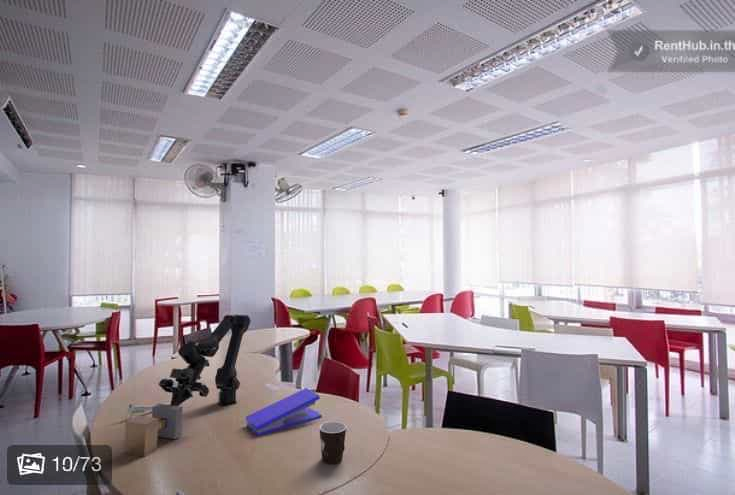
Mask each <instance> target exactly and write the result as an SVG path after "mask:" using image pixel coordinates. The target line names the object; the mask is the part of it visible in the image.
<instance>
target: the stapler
mask: <svg viewBox="0 0 735 495" xmlns="http://www.w3.org/2000/svg"><path fill="white" fill-rule="evenodd" d="M320 399H321V398H320V394H318V393H316V392H314V391H312V390H310V389H308V388H306V387H305V388H303V389H301V390H298V391H297V392H295V393H292V394H291V395H289V396H287V397H284V398H283V399H280V400H279V401H275V402H273V403H272V404H270V405H267V406H265V407H263V408H261V409H259V410H257V411H255V412H252V413H251V414H249V415H247V416H245V421H246V427H247V428H248V429H249V430H250V431H252V432H253V433H254V434H255V435H256V436H258V437H259V436H262V435H266V434H268V433H273V432H277V431H280V430H283V429H286V428H290V427H294V426H297V425H300V424H304V423H308V422H311V421H314V420H317V419H321V418H323V414H321V413H319V412H317V411H315V410H314V409H313V408H310V407H311V406H315V405H316V402H317V401H319V400H320Z"/></svg>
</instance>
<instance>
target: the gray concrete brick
mask: <svg viewBox="0 0 735 495" xmlns="http://www.w3.org/2000/svg"><path fill="white" fill-rule="evenodd" d="M166 404H167V403H157V404H154V405H155V406H153V409H152V410H151V411H152V414H151V415H152V416H151V417H152V418H158V420H161V419H163V418H166V419H167V426H165V427H163V428H162V429H159V430H158V435H157V438H158V437H160V438H167V439H173V440H176V439H177V438H180V437H182V428H183V425H182V424H183V409H184V408H183V406H181V405H179V406H174V405H166Z"/></svg>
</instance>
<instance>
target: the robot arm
mask: <svg viewBox="0 0 735 495" xmlns="http://www.w3.org/2000/svg"><path fill="white" fill-rule="evenodd" d="M250 324H251V318H250V316H249V315H247V314H226V315H224V317H223V318H222V320H221V322H219V323H218V325H217V326H216V327H215V329H214V330H213V331H212V332H211V334H210V335H209V336H206V337H205V338H203V339H202V340H200V341H199V342H198V343H197V345H196V342H195V341H193V340H189V341H188V343H184V344H183V345H182V346H180V347H179V349H178V351H177V352H178V353H177V354H178V356H180V358H181V359H182V360H183V361H184V362H185V363H186V364H187V367H186V368H183V369H181V368H172V369H171V372H170V375H169V378H162V379H160V381H159V383H158V386H159V387H160V388H161V389H162V390H163V391H164V392H165V393H170V394H172V395H171V401H170V403H171V405H174V406H181V404H183V403H184V402H186V401H187V400H189V399H190V398H193V397H194V395H193V394H194V393H196V392H198V395H199V396H200V397H204V398H206V397H208V395H209V393H210V389H209V387H208V386H207V385H206V384H205V382H201V381H200V382H199V381H198V380H201V378H202V376H201V375H202V372H203V371H204V369H205V367H210V363H209V359H207V358H213V357H214V356H216V354H217V353H218V351H219V349H220V343H221V341H222V340H223V339H224V337H225V336H226V334H227V333H228V332H229V331H231V335H230V338H229V343H228V347H227V350H226V355H225V358H224V362H223V365H222V366H221V367H218V368H217V370H216V373H215V376H214V377H215V378H214V382H215V386H216V390H219V391H218V394H217V402H218V403H219V404H220V405H221V407H223V406H228V405H233V404H237V403H238V401H237V400H236V399H237V398H236V396H237V390H239V388H240V385H241V382H240V380H239V379H238V378H237V375H238V373H237V369H236V364H237V359H238V356H239V352H240V348H241V343H242V340H243V335H244V334H245V333H246V332H247V331H248V330H249V326H250ZM172 378H173V379H174V380H175V381H174V380H173V379H172Z"/></svg>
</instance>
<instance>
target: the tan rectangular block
mask: <svg viewBox="0 0 735 495" xmlns="http://www.w3.org/2000/svg"><path fill="white" fill-rule="evenodd" d="M124 425H125V426H124V428H125V429H124V442H123V443H124V445H123V454H126V453H127V455H132V456H138V457H146V456H148V455H150V454H151V453H154V452H155V451H156V450H158V436H157V435H158V430H159V429H162V428H163V427H165V426H167V419H166V418H163V419H161V420H158V418H152V416H143V415H135V416H134V418H132V419H130V418H129V420H125V424H124Z"/></svg>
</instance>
